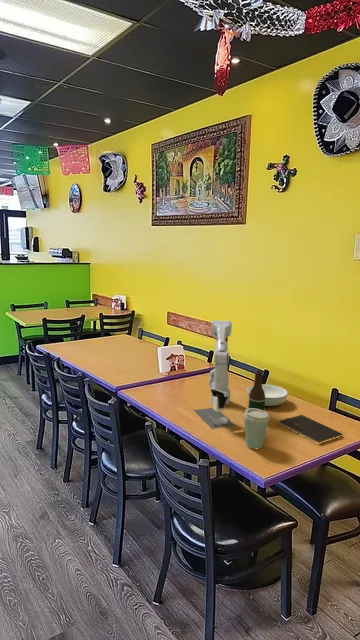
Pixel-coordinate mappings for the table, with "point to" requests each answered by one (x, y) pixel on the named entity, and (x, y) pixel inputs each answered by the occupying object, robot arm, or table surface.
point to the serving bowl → (272, 394)
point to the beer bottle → (257, 393)
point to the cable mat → (210, 411)
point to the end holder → (219, 420)
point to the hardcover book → (310, 428)
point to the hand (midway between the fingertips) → (219, 406)
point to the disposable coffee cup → (255, 427)
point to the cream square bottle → (215, 404)
